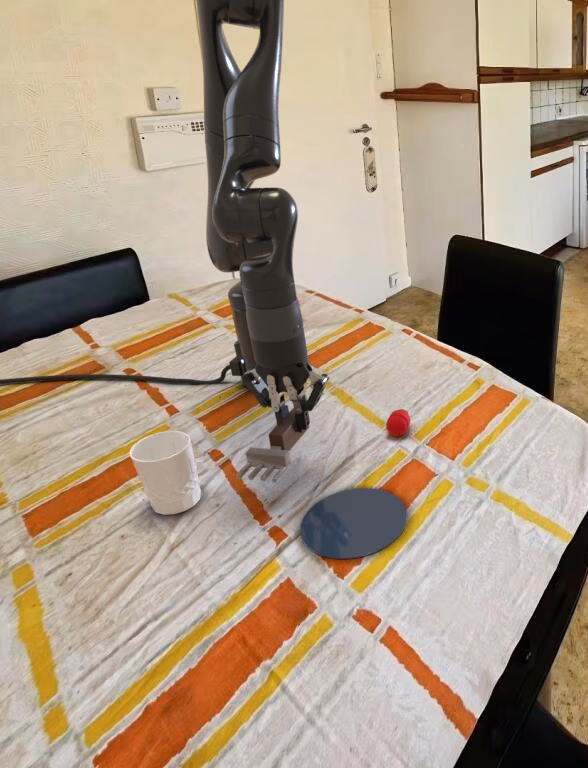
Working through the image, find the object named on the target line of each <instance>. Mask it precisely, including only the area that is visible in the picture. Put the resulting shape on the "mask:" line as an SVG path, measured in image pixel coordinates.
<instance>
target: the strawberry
mask: <svg viewBox="0 0 588 768" xmlns="http://www.w3.org/2000/svg"><path fill="white" fill-rule="evenodd" d="M387 418H388V419H387V420H386V422H385V428H386V430H387V432H388V433H389V435H391V436H394V437H401V436H403V435H404V434H405V433H406V432H407V430H408V428H409V427H410V424H411V417H410V415H409V412H408V410H406V409H403V408H399V409H396V410H394V411H392V412H391V413H390V415H389V416H388V417H387Z"/></svg>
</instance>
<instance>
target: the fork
mask: <svg viewBox="0 0 588 768" xmlns="http://www.w3.org/2000/svg"><path fill="white" fill-rule="evenodd" d="M309 428H310V425H309V426H308V427H307V429H306V430H305V431H304V432H303V433H299V432H298V429H297V423H296V420H295V410H294V407H293V408H292V409H291V410H290V411H289V413H288V414H287V415H286V416H285V417H284V418H283V419H282V420H281V421H280V423H279V424H278V425H277V424H276V425H275V427H274V428H273V429H272V430H270V432H269V433H268V441H269V448H262V447H252V446H251V447H249V448H248V449H247V450H246V452H245V458H246V463H245V464H244V465H243V466H242V467H241V469H240V470H239V471H238V472H237V473H236V474H235V477H236V480H241V479H242V478H243V477H245V475H246V474H247V473H248V471H250V469H251V468H253V470H252V471H251V472H250V473H249V474H248V476H247V479H248V481H253V480H254V479H255V478H256V477H257V476H258V475H259V474H260V473H261V471H262V470H263V469H266V470H265V471H264V472H263V473H261V475H260V476H259V479H260V482H265V481H266V480H267V479H268V478H269V477H270V476H271V474H272V473H273V472H274V471H275V470H278V471H276V473H275V474H274V475H273V477H272V478H271V480H272V483H278V481H279V480H280V479H281V478H282V477H283V475H284V474H285V473H286V472H287V471H288V469H289V468H290V467H291V465H292V461H291V453H290V451H291V450H292V449H293V448H294V446H296V444H297V443H298V442H299V441H300V439H301V438H302V437H303V436H304V435H305V434H306V433H307V431H308V430H309Z"/></svg>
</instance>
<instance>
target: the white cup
mask: <svg viewBox="0 0 588 768" xmlns="http://www.w3.org/2000/svg"><path fill="white" fill-rule="evenodd" d="M129 457H130V460H131V462H132V465H133V467H134V469H135V472H136V474H137V477H138V479H139V482H140V484H141V487H142V489H143V491H144V493H145V495H146V497H147V499H148V500H149V501H148V502H149V503H150V506H151V508H152V509H153V511H154V512H155V513H156V514H160V515H163V516H167V515H177V514H180V513H183V512H185V511H188V510H189V509H191V508H193V507H194V506H196V505H197V504H198V502H199V501H200V500H201V496H202V490H201V485H200V481H199V479H200V477H199V473H198V468H197V463H196V458H195V453H194V449H193V444H192V440H191V437H190V435H189V434H188V433H186V432H184V431H181V430H180V431H179V430H165V431H160V432H156V433H153V434H149V435H147V436H145V437H143V438H141V439H139V440H138V441H136V442H135V443H134V444H133V445H132V446H131V447H130V449H129Z"/></svg>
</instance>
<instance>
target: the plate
mask: <svg viewBox="0 0 588 768" xmlns="http://www.w3.org/2000/svg"><path fill="white" fill-rule="evenodd" d="M407 518H408V514H407V510H406V507H405V505H404V504H403V502H402V501H401V500H400V499H399V498H398V497H397V496H396V495H394V494H392V493H391V492H388V491H386V490H382V489H378V488H372V487H357V488H356V487H355V488H350V489H344V490H340V491H338V492H334V493H331V494H330V495H327V496H325V497H324V498H321V499H320V500H318V501H317V502H316V503H315V504H313V505H312V506H311V507H310V508H309V509H308V510H307V512H305V515H304V516H303V518H302V520H301V523H300V525H299V533H300V537H301V541H302V542H303V544H304V545H305V546H306V548H307V549H308V550H310V551H311V552H313V553H314V554H317V555H318V556H321V557H325V558H328V559H334V560H352V559H353V560H354V559H359V558H364V557H367V556H370V555H373V554H375V553H376V554H377V553H378V552H380V551H382V550H384V549H385V548H387V547H389V546H390V545H391V544H392V543H394V542H395V541H396V540H397V539H398V538H399V537H400V536H401V534H402V533H403V531H404V530H405V528H406V524H407V520H408V519H407Z"/></svg>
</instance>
